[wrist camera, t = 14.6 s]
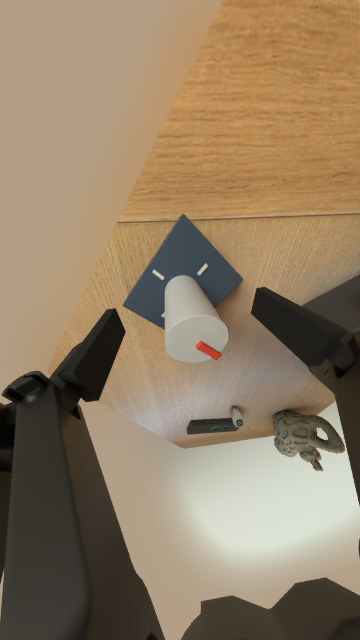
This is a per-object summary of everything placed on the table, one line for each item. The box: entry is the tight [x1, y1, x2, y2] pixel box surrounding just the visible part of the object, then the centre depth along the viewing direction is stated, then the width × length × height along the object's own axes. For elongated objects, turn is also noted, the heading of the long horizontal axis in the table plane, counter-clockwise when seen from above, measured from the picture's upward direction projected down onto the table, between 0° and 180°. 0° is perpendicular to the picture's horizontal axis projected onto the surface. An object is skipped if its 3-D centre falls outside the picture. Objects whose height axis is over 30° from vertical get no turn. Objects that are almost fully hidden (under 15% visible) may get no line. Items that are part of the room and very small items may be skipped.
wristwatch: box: [230, 406, 244, 427], centre depth 42 cm, size 4×6×5 cm, turn 7°
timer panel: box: [123, 214, 243, 330], centre depth 18 cm, size 12×10×3 cm
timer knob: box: [165, 275, 229, 364], centre depth 13 cm, size 4×4×9 cm
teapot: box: [274, 411, 345, 471], centre depth 44 cm, size 21×12×15 cm, turn 158°
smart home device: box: [187, 418, 239, 434], centre depth 49 cm, size 8×2×20 cm
